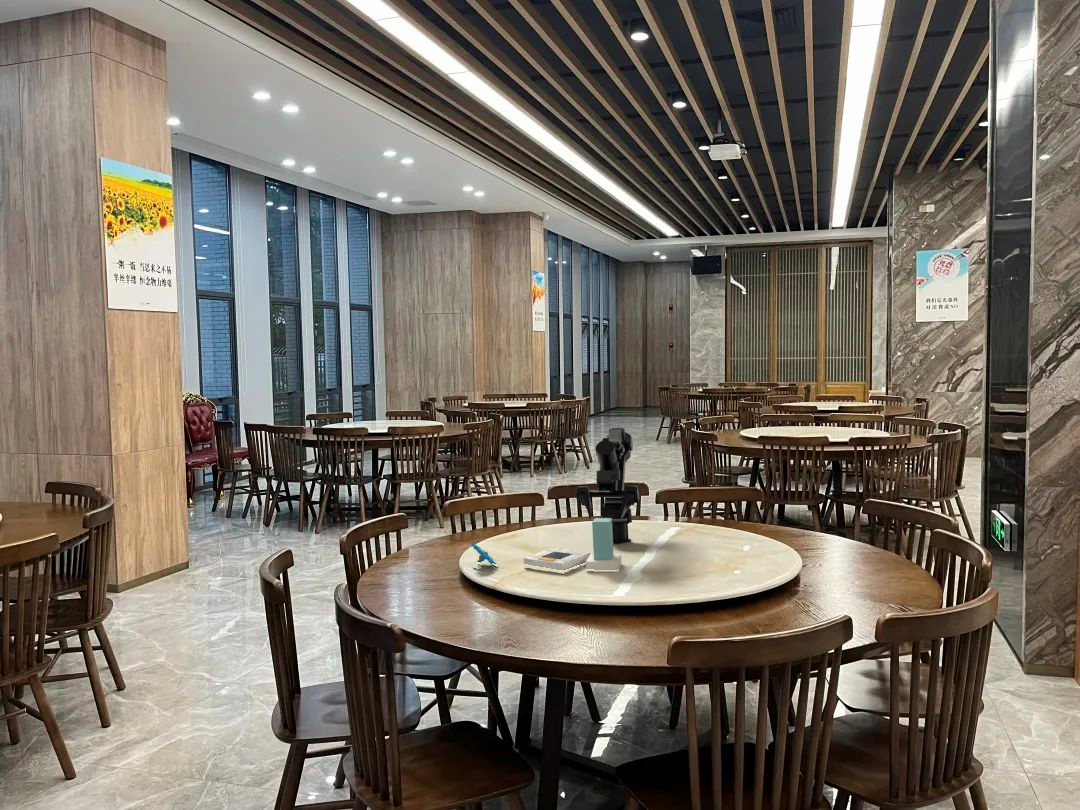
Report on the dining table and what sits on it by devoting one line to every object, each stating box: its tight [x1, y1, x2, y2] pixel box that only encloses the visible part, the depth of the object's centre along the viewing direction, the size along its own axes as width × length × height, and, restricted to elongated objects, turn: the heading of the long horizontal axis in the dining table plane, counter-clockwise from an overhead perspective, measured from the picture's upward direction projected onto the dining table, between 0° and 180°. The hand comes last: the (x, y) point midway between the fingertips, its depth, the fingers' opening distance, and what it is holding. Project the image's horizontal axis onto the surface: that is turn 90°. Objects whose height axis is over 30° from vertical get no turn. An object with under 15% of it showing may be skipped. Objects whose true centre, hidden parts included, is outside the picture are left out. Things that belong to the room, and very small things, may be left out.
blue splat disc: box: [471, 542, 497, 565], centre depth 262 cm, size 11×6×10 cm
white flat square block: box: [585, 553, 623, 572], centre depth 254 cm, size 9×9×3 cm
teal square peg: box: [591, 517, 615, 560], centre depth 254 cm, size 5×5×11 cm
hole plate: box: [523, 547, 591, 570], centre depth 260 cm, size 14×14×3 cm
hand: (605, 518), depth 260 cm, fingers open, 9 cm apart
